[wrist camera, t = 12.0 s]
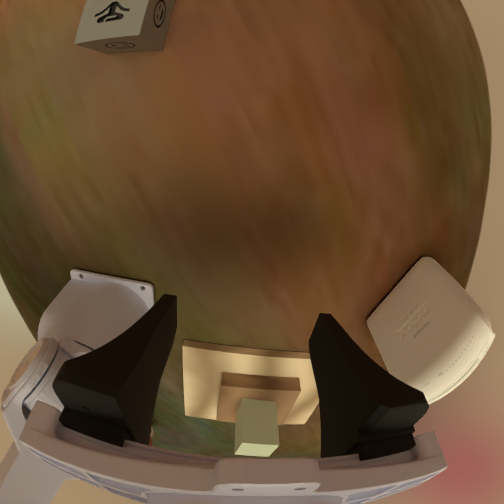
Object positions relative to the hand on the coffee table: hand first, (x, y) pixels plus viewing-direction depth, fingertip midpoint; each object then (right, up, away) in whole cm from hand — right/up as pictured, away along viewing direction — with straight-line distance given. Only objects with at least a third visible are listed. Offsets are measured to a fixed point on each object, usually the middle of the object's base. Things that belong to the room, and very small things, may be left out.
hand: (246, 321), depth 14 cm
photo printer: (+16, -1, +13) cm, 20 cm away
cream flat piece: (+1, -14, +19) cm, 24 cm away
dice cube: (-8, +21, +1) cm, 23 cm away
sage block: (+1, -15, +16) cm, 23 cm away
